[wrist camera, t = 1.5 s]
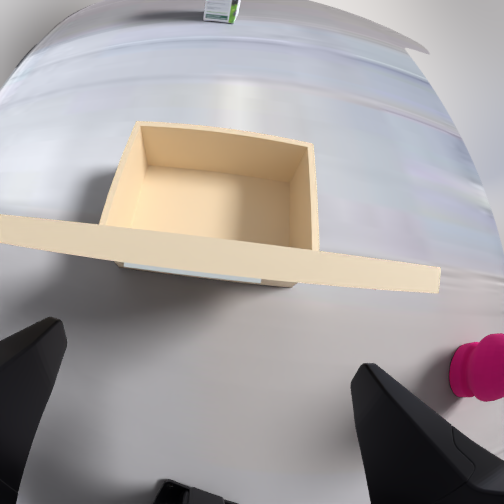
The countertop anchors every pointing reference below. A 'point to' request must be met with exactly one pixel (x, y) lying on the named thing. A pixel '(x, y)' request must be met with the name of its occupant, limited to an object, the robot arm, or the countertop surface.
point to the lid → (216, 256)
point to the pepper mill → (479, 369)
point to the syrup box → (221, 10)
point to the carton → (216, 187)
